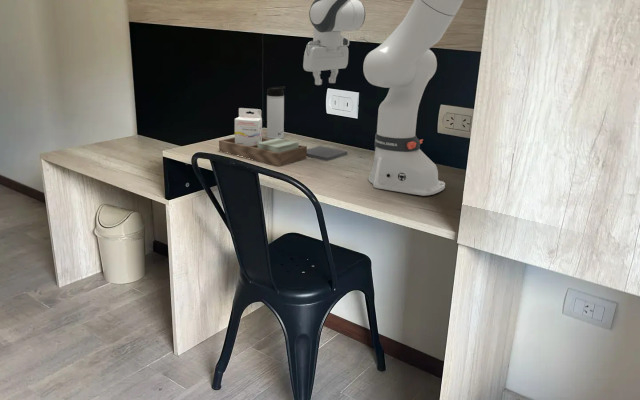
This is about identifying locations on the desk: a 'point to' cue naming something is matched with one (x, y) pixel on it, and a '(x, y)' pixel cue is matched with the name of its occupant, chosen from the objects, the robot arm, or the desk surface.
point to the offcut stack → (278, 145)
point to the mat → (325, 153)
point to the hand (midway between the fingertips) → (325, 83)
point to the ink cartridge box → (248, 127)
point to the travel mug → (275, 112)
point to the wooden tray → (263, 152)
